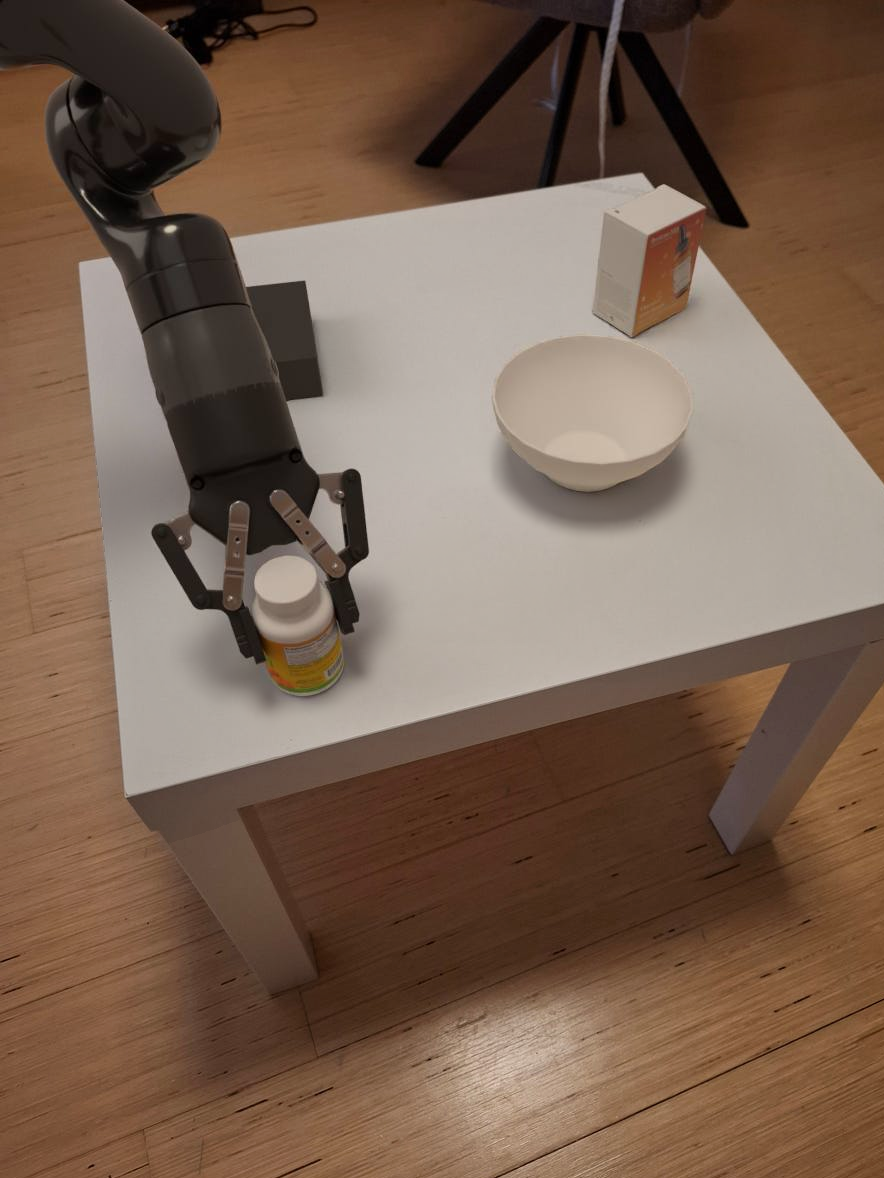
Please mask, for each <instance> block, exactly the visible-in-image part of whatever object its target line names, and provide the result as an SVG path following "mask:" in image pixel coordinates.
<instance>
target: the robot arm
mask: <svg viewBox="0 0 884 1178" xmlns="http://www.w3.org/2000/svg"><path fill="white" fill-rule="evenodd" d="M45 65H51V66H58V67H60V68H62V69H66V70H67V71H69V72H71V73H72V74H74V75H72V76H71V77H69V78H68V79H66V80H65V81H64V82H62V83H61V84H59V85H58V86H57V87H56V88H55V89H54V90H53V91H52V93H51V94H50V95H49V97H48V99H47V101H46V103H45V109H44V116H43V128H44V129H43V130H44V139H45V144H46V145H45V146H46V149H47V151H48V155H49V158H50V161H51V162H52V165H53V167H54V170H55V171H56V173H57V175H58V177H59V178H60V180H61V181H62V183H63V185H64V187H65V188H66V189H67V191H68V193H69V194H70V196H71V197H72V199H73V200H74V202H75V204H76V205H77V206H78V208H79V209H80V211H81V213H82V214H83V216H84V218H85V219H86V220H87V222H88V224H89V226H90V227H91V229H92V230H93V232H94V234H95V236H96V237H97V238H98V240H99V242H100V243H101V245H102V246H103V247H104V249H105V250H106V252H107V254H108V256H109V257H110V258H111V260H112V261H113V263H114V265H115V267H116V268H117V270H118V271H119V273H120V276H121V280H122V282H123V287H124V289H125V292H126V296H127V298H128V300H129V304H130V307H131V310H132V313H133V316H134V318H135V322H136V324H137V327H138V330H139V333H140V336H141V340H142V343H143V347H144V351H145V356H146V362H147V366H148V371H149V375H150V379H151V381H152V384H153V387H154V390H155V391H154V392H155V396H156V401H157V402H158V405H159V406H160V407H161V411H162V414H163V417H164V420H165V422H166V426H167V428H168V431H169V434H170V438H171V440H172V442H173V446H174V450H175V452H176V455H177V457H178V461H179V464H180V467H181V470H182V472H183V477H184V478H185V481H186V485H187V487H188V491H189V501H188V509H187V511H185V512H183V513H181V514H180V515H177V516H176V517H174V518H171V519H170V520H168V521H165V522H159V523H156V524H155V525H154V526H153V527H152V529H151V537H152V539H153V541H154V543H155V544H156V545H157V548H158V549H159V551H160V553H161V555H162V556H163V558H164V560H165V561H166V563H167V564H168V566H169V567H170V570H171V571H172V573H173V575H174V576H175V578H176V580H177V581H178V583H179V585H180V587H181V588H182V590H183V591H184V593H185V595H186V597H187V598H188V600H189V602H190V603H191V605H192V607H194V609H196V610H198V611H204V610H217V611H221V612H223V613H225V615H226V616H227V618H228V621H229V624H230V627H231V629H232V632H233V635H234V639H235V641H236V644H237V647H238V650H239V653H240V654H241V655H242V656H243V657H244V659H250V658H253V661H254V663H255V665H256V666H257V665H260V664H264V663H265V662H267V661H266V658H265V655H264V652H263V649H262V646H261V643H260V640H259V637H258V634H257V631H256V628H255V625H254V622H253V619H252V616H251V609H250V608H249V606H248V605H245V602H244V599H243V596H244V595H243V594H244V582H245V581H244V580H245V572H246V560H247V556H248V557H250V556H253V555H257V554H259V553H262V552H264V551H266V550H268V549H269V548H271V547H272V546H286V545H290V544H294V543H296V542H297V543H298V544H299V545H300V547H301V548H302V549H303V550H304V551H305V552H306V554H308V555H309V556H310V558H311V559H312V560H313V562H315V564H316V565H317V566H318V567H319V568H320V569H321V570H322V572H323V573H324V574H325V577H326V580H324V585H325V586H326V587H327V589H328V590H329V592H330V594H331V596H332V599H333V603H334V608H335V614H336V619H337V624H338V629H339V632H340V633H341V635H343V636H348V635H351V634H355V632H356V631H355V627H354V624H356V623H359V622H360V610H359V608H358V603H357V601H356V597H355V595H354V594H355V593H354V591H353V588H352V585H351V582H350V578H349V575H350V572H351V570H352V569H353V568H354V567H355V566H357V564H360V562H362V561H364V560H365V559H367V558H368V557H369V553H370V547H369V539H368V528H367V519H366V512H365V502H364V493H363V484H362V483H363V481H362V475H361V473H360V471H358V470H357V469H355V468H348V469H346V470H344V471H342V472H341V471H340V472H328V473H318V472H317V471H316V470H315V469H314V468H313V467H312V466H311V465H310V464H309V463H308V462H307V460H306V457H305V456H304V452H303V450H302V447H301V444H300V440H299V437H298V433H297V430H296V427H295V424H294V421H293V418H292V415H291V411H290V409H289V406H288V402H287V400H286V399H285V396H284V392H283V389H282V386H281V383H280V380H279V371H278V368H277V365H276V363H275V361H274V360H273V358H272V355H271V352H270V349H269V346H268V343H267V340H266V338H265V336H264V334H263V332H262V330H261V327H260V325H259V323H258V321H257V319H256V316H255V314H254V311H253V309H252V305H251V302H250V299H249V296H248V292H247V289H246V287H247V286H246V284H245V280H244V277H243V274H242V271H241V268H240V265H239V261H238V258H237V256H236V255H237V254H236V252H235V249H234V245H233V243H232V241H231V238H230V236H229V234H228V232H227V230H226V229H225V227H224V225H223V224H222V223H221V222H220V221H219V220H217V219H216V218H214V217H213V216H211V215H208V214H205V213H200V212H178V213H169V214H165V212H164V211H163V210H162V208H161V207H160V205H159V202H158V200H157V197H156V194H155V189H156V188H159V187H160V186H162V185H163V184H165V183H167V182H169V181H171V180H172V179H175V178H176V177H178V176H180V175H182V174H183V173H185V172H188V171H189V170H191V169H193V168H195V167H196V166H198V165H200V164H202V163H203V162H204V161H206V160H207V159H208V158H209V157H210V156H211V155H212V154H214V152H215V151H216V149H217V147H218V145H219V143H220V140H221V136H222V130H223V122H222V113H221V107H220V104H219V100H218V97H217V95H216V92H215V90H214V87H213V86H212V83H211V82H210V80H209V78H208V76H207V74H206V73H205V71H204V70H203V68H202V67H201V66H200V64H199V63H198V62H197V60H196V59H195V58H194V56H193V55H192V54H191V53H190V52H189V51H188V50H187V49H186V48H185V47H184V46H183V45H182V44H181V43H180V42H179V41H178V40H177V39H176V38H175V37H173V36H172V35H171V34H169V33H168V32H167V31H166V30H165V29H163V28H162V27H161V26H160V25H159V24H158V23H155V22H154V21H153V20H151V18H149V17H148V16H146V15H145V14H143V13H142V12H140V11H139V10H138V9H137V8H135V7H134V6H133V5H130V4H129V3H128V2H127V1H125V0H0V71H3V72H12V71H13V72H14V71H18V70H23V69H28V68H32V67H37V66H45ZM320 490H322V491H324V492H325V493H326V494H327V496H328V500H329V502H331V503H332V504H333V505H336V506H339V507H340V515H341V524H342V525H341V526H342V532H343V533H342V534H343V541H344V547H343V548H342V549H341V550H340V551H339V552H337V553H336V552H335V550H334V549H333V548H332V546H331V545H330V544H329V543H328V542H327V540H326V539H325V537H324V536H323V534H321V532H320V531H319V530H318V529H317V528H316V526H315V525H314V524H313V523H312V522H311V521H310V519H311V515H312V512H313V509H314V506H315V504H316V500H317V497H318V494H319V491H320ZM194 526H198V527H199V528H200V529H201V530H202V531H204V532H206V533H207V534H209V535H210V536H211V537H213V538H214V539H215V540H217V541H218V542H219V543H221V544H222V545H224V546H225V551H224V562H223V563H224V564H223V577H222V589H209V588H207V587H206V585H205V583H204V581H203V580H202V578H201V576H200V575H199V573H198V571H197V569H196V568H195V566H194V565H193V563H192V560H191V559H190V558H189V556H188V554H187V553H186V550H189V549H190V547H191V546H192V544H193V539H192V536H191V530H192V528H193V527H194ZM235 553H236V554H235Z"/></svg>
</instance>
